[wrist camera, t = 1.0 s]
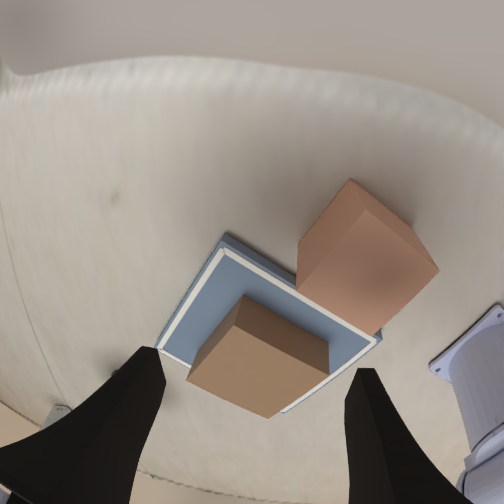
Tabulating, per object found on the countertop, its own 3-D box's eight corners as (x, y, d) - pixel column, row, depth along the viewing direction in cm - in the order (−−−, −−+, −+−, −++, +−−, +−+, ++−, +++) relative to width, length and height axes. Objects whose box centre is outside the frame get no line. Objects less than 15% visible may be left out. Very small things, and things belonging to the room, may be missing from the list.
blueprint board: (380, 330, 21) (389, 371, 18) (284, 405, 27) (280, 440, 23) (224, 233, 19) (206, 266, 16) (157, 340, 25) (139, 374, 22)
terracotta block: (411, 227, 17) (439, 270, 13) (359, 283, 20) (371, 336, 15) (349, 177, 17) (365, 209, 12) (298, 243, 19) (295, 291, 15)
